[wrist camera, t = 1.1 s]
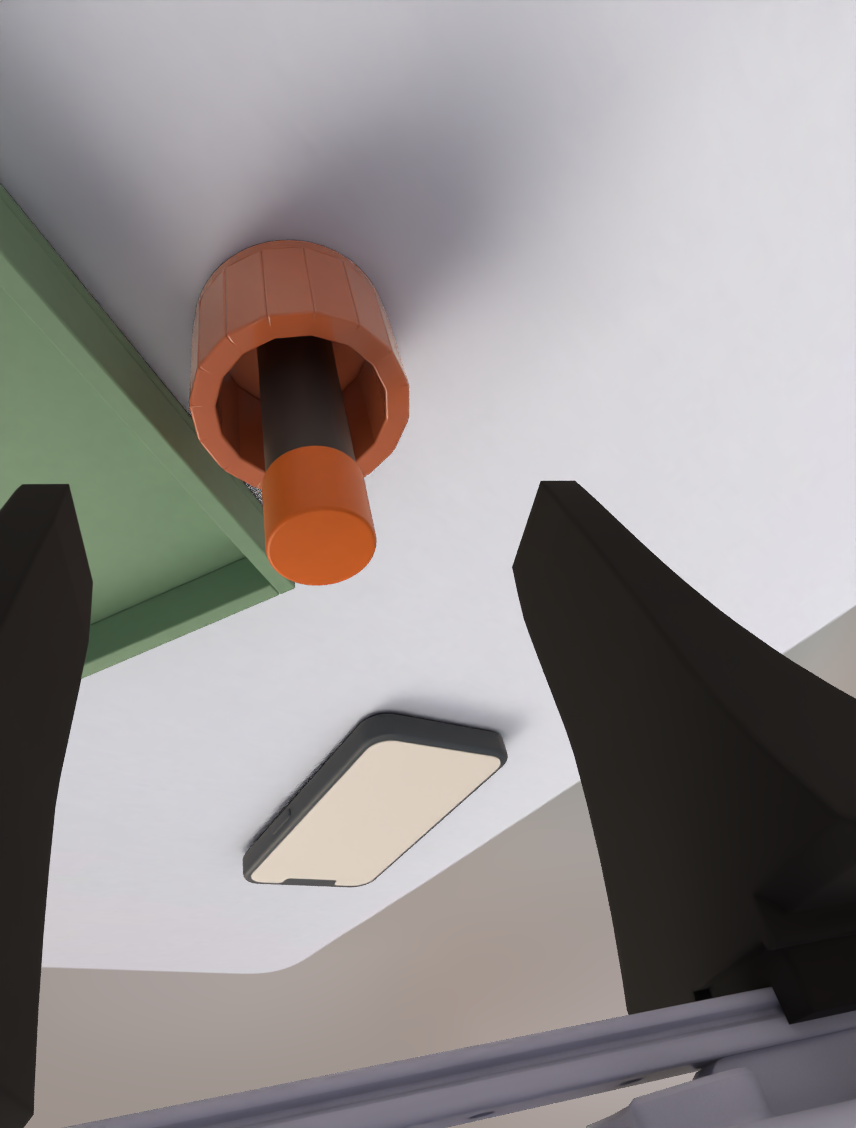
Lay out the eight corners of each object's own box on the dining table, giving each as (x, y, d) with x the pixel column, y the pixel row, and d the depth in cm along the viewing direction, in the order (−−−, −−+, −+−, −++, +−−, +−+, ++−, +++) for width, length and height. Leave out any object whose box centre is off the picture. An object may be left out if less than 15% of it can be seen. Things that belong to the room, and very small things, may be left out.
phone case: (368, 701, 35) (233, 857, 43) (373, 731, 34) (233, 885, 42) (511, 728, 39) (364, 864, 48) (520, 755, 38) (368, 889, 47)
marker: (278, 390, 21) (300, 600, 16) (236, 327, 19) (243, 537, 14) (348, 357, 21) (394, 561, 15) (310, 290, 19) (347, 492, 14)
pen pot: (259, 438, 23) (265, 522, 20) (153, 294, 19) (142, 375, 16) (413, 367, 22) (439, 445, 19) (334, 202, 18) (353, 272, 16)
